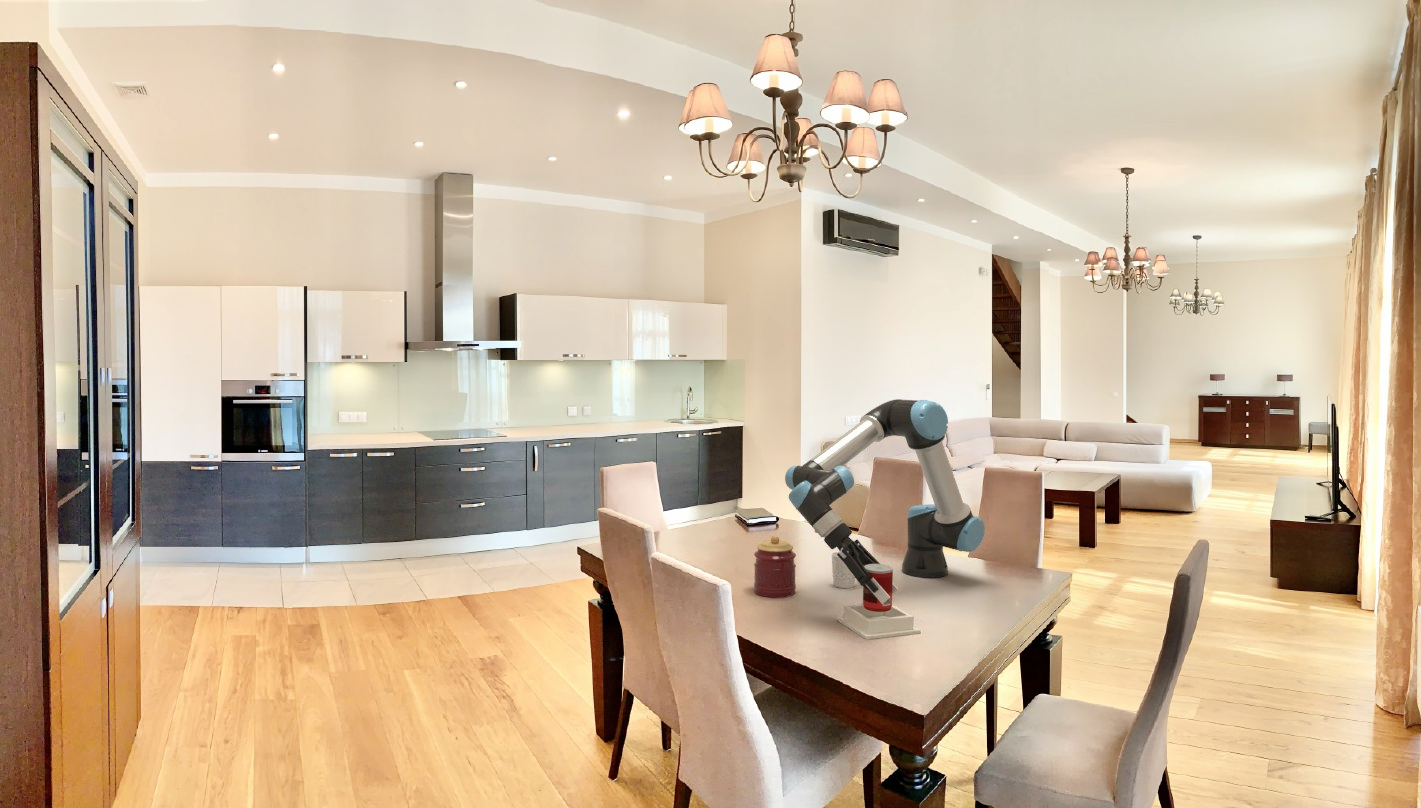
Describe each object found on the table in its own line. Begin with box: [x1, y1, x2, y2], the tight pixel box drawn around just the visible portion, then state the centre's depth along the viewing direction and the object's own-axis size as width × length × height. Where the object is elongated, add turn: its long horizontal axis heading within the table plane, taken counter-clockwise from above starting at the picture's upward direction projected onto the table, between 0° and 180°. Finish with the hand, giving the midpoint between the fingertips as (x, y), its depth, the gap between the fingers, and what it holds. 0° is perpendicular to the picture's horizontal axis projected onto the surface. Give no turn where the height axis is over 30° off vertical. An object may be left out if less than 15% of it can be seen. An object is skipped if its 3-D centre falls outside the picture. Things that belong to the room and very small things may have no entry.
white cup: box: [831, 551, 856, 589], centre depth 244 cm, size 8×8×10 cm
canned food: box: [862, 563, 894, 612], centre depth 204 cm, size 8×8×11 cm
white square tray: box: [836, 603, 921, 640], centre depth 205 cm, size 16×16×4 cm
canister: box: [753, 535, 797, 598], centre depth 236 cm, size 13×13×18 cm
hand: (890, 596), depth 203 cm, fingers closed on canned food, 8 cm apart
